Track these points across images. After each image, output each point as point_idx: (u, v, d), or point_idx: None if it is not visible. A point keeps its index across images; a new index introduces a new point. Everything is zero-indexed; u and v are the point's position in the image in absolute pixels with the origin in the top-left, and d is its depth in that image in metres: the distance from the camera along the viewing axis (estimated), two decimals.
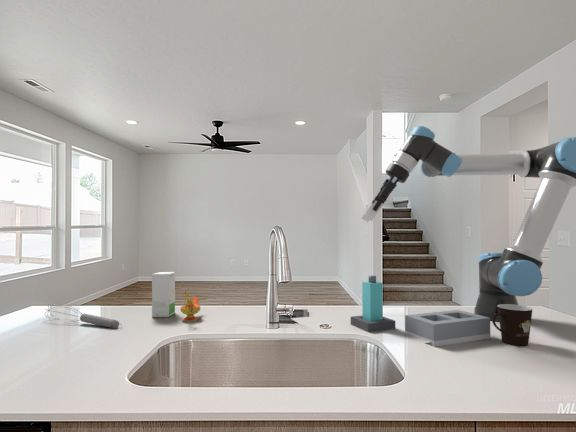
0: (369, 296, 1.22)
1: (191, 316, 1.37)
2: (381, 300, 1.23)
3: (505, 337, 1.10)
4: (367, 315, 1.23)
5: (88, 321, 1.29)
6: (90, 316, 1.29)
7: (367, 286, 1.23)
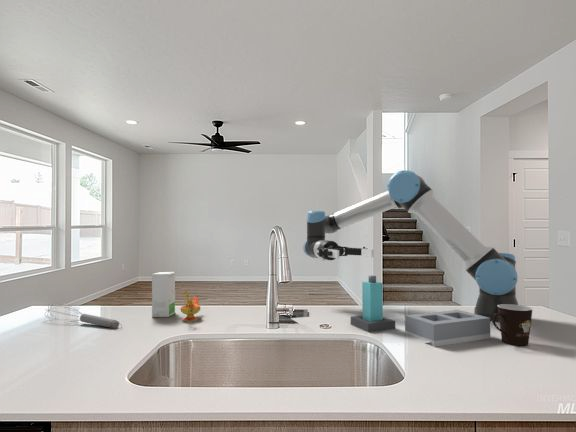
0: (369, 296, 1.22)
1: (191, 316, 1.37)
2: (381, 300, 1.23)
3: (505, 337, 1.10)
4: (367, 315, 1.23)
5: (88, 321, 1.29)
6: (90, 316, 1.29)
7: (367, 286, 1.23)
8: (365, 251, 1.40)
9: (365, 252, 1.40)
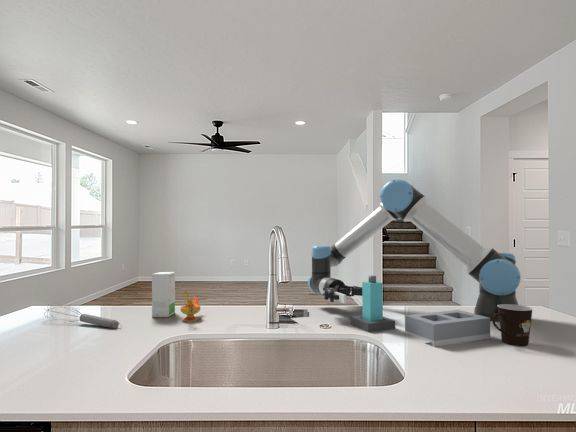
0: (369, 296, 1.22)
1: (191, 316, 1.37)
2: (381, 300, 1.23)
3: (505, 337, 1.10)
4: (367, 315, 1.23)
5: (88, 321, 1.29)
6: (90, 316, 1.29)
7: (367, 286, 1.23)
8: None
9: None
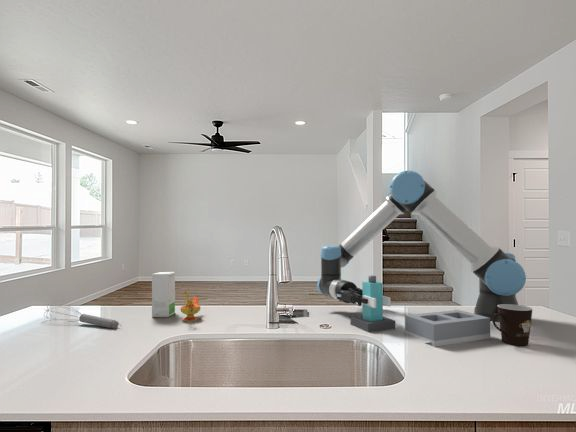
0: (369, 296, 1.22)
1: (191, 316, 1.37)
2: (381, 300, 1.23)
3: (505, 337, 1.10)
4: (367, 315, 1.23)
5: (87, 321, 1.29)
6: (89, 316, 1.29)
7: (367, 286, 1.23)
8: None
9: None
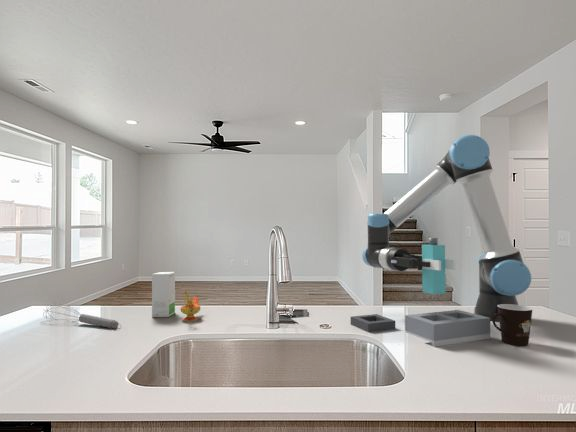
0: (431, 259, 1.13)
1: (191, 316, 1.37)
2: (444, 264, 1.14)
3: (505, 337, 1.10)
4: (429, 280, 1.14)
5: (87, 321, 1.28)
6: (89, 316, 1.29)
7: (429, 248, 1.14)
8: None
9: None
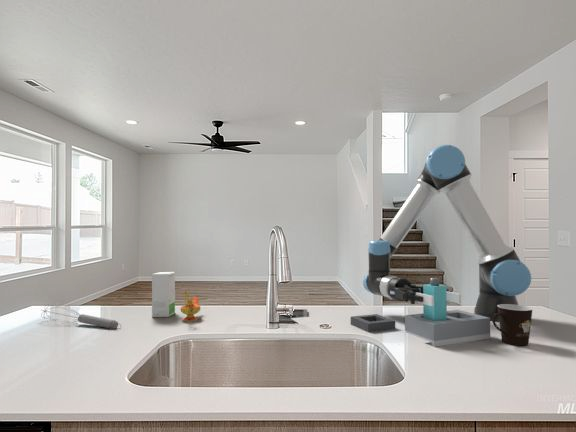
0: None
1: (191, 316, 1.37)
2: (445, 305, 1.14)
3: (505, 337, 1.10)
4: None
5: (86, 322, 1.28)
6: (88, 317, 1.29)
7: (430, 289, 1.13)
8: (448, 295, 1.16)
9: (448, 296, 1.16)
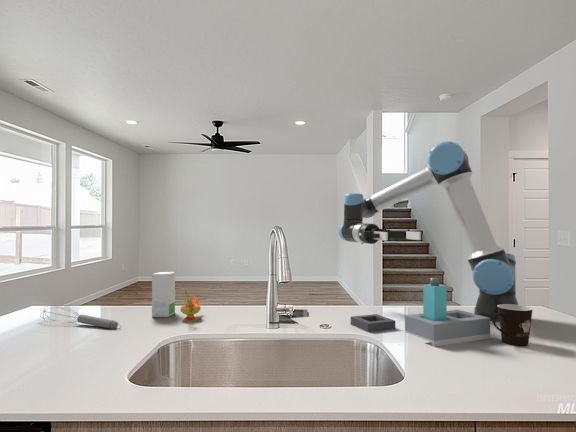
0: (432, 301, 1.13)
1: (191, 316, 1.37)
2: (445, 305, 1.14)
3: (505, 337, 1.10)
4: None
5: (86, 322, 1.28)
6: (88, 317, 1.28)
7: (430, 289, 1.13)
8: (411, 234, 1.35)
9: (411, 235, 1.35)
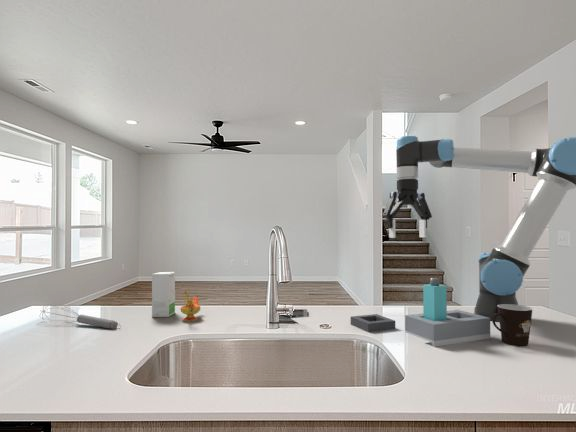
0: (432, 301, 1.13)
1: (191, 316, 1.37)
2: (445, 305, 1.14)
3: (505, 337, 1.10)
4: None
5: (85, 322, 1.28)
6: (87, 317, 1.28)
7: (430, 289, 1.13)
8: (422, 226, 1.45)
9: (422, 226, 1.45)
